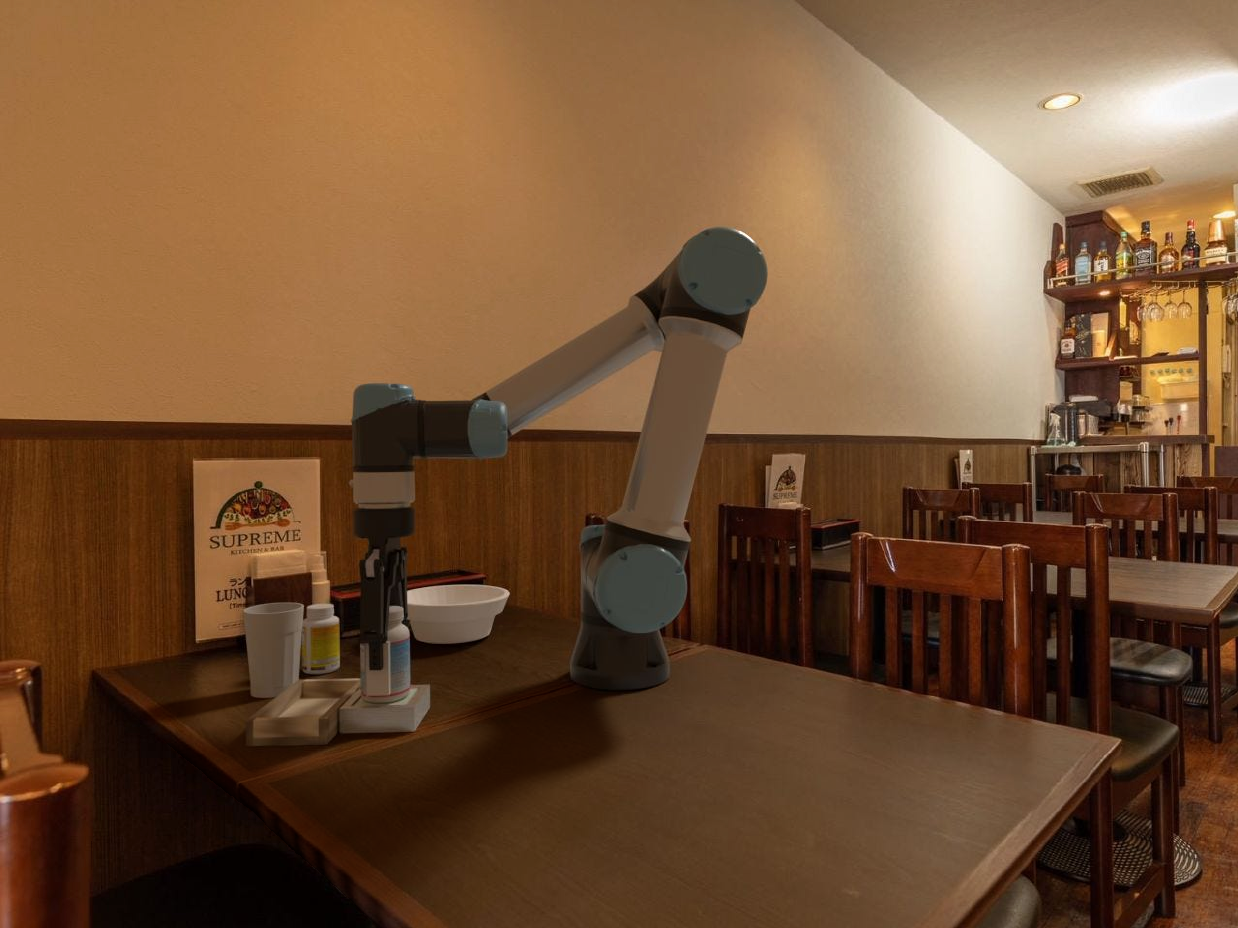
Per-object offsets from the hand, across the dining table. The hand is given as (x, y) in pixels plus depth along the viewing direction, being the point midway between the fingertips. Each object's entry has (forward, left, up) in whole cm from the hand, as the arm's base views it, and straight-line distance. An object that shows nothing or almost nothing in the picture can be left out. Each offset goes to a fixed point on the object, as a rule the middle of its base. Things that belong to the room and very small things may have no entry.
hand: (386, 685), depth 96 cm
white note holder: (0, 0, -4) cm, 4 cm away
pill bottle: (0, 0, -2) cm, 2 cm away
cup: (+19, -13, -5) cm, 24 cm away
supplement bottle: (+16, -23, -5) cm, 29 cm away
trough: (+9, 0, -4) cm, 10 cm away
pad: (0, 0, -3) cm, 3 cm away
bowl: (-1, -43, -5) cm, 43 cm away
